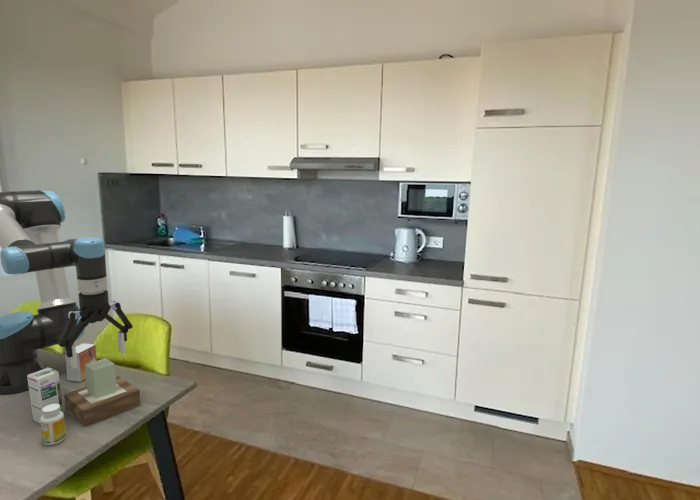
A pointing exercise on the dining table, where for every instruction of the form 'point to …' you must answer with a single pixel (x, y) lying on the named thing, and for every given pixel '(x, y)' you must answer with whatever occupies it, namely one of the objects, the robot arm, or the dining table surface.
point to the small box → (81, 361)
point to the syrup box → (44, 391)
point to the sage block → (100, 378)
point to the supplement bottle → (52, 425)
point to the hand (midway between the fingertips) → (98, 359)
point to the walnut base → (101, 403)
